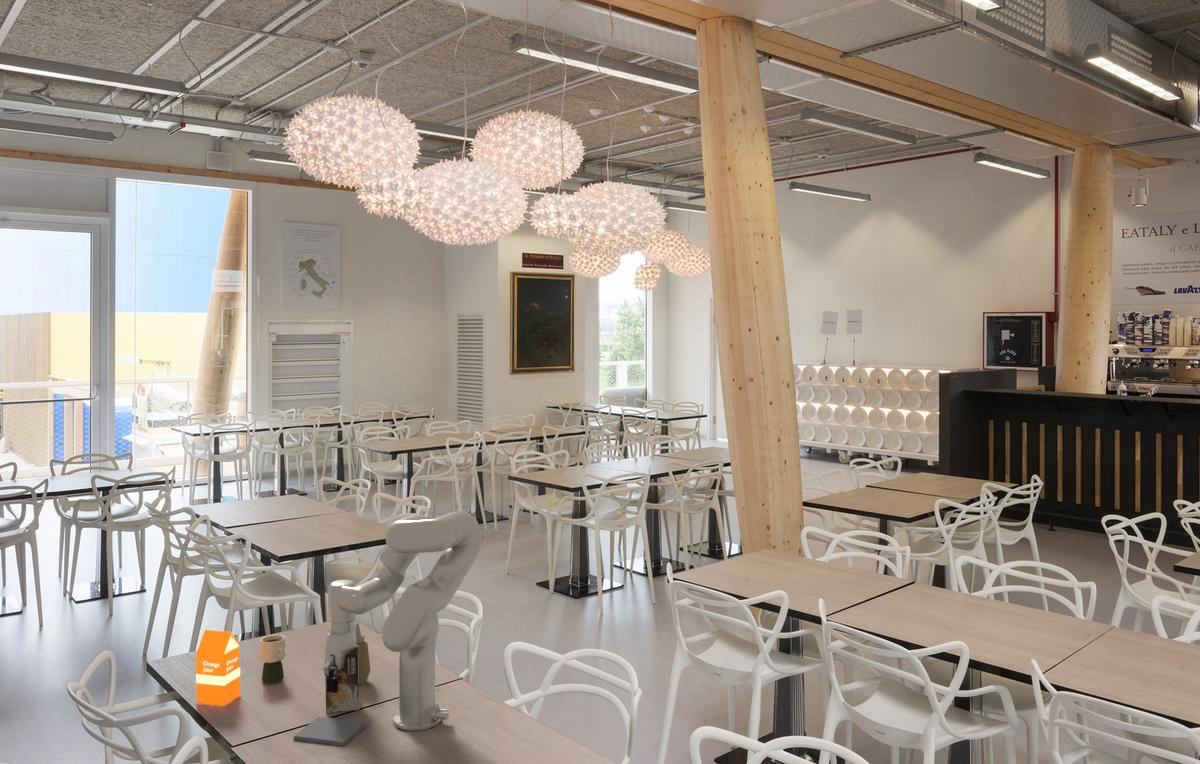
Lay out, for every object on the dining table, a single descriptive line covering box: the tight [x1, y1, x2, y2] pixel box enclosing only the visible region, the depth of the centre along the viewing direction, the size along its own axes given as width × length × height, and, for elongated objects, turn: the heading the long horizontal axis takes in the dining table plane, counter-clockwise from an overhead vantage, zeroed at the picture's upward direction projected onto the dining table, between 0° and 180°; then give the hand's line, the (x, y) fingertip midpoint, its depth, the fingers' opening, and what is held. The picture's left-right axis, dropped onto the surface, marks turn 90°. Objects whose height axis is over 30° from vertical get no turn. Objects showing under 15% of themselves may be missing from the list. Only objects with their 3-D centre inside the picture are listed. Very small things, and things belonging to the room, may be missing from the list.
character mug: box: [259, 634, 286, 683], centre depth 263 cm, size 11×7×13 cm, turn 52°
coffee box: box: [324, 647, 361, 713], centre depth 244 cm, size 9×6×16 cm
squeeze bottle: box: [356, 622, 371, 686], centre depth 262 cm, size 8×8×18 cm
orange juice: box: [195, 629, 241, 707], centre depth 248 cm, size 8×9×20 cm
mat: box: [293, 716, 367, 747], centre depth 229 cm, size 14×12×1 cm
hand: (341, 685), depth 244 cm, fingers open, 9 cm apart
